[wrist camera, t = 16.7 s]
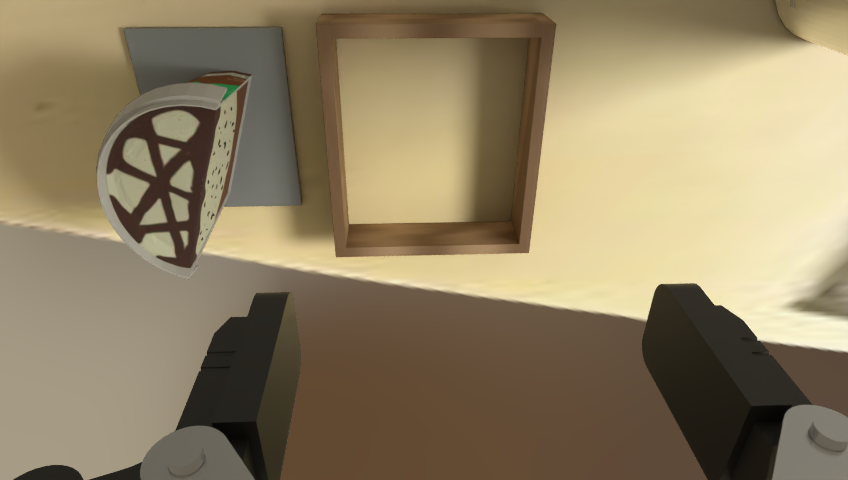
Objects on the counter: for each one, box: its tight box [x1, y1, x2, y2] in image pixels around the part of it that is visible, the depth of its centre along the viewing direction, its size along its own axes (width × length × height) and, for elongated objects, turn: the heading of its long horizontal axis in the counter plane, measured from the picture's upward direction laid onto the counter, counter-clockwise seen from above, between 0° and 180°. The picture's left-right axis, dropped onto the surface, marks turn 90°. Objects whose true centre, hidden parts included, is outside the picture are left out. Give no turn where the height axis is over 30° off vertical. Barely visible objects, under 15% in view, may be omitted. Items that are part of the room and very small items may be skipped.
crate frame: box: [316, 14, 556, 257], centre depth 41 cm, size 15×17×4 cm
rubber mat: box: [124, 27, 302, 207], centre depth 41 cm, size 10×13×1 cm
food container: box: [97, 71, 252, 279], centre depth 36 cm, size 12×6×10 cm, turn 161°
